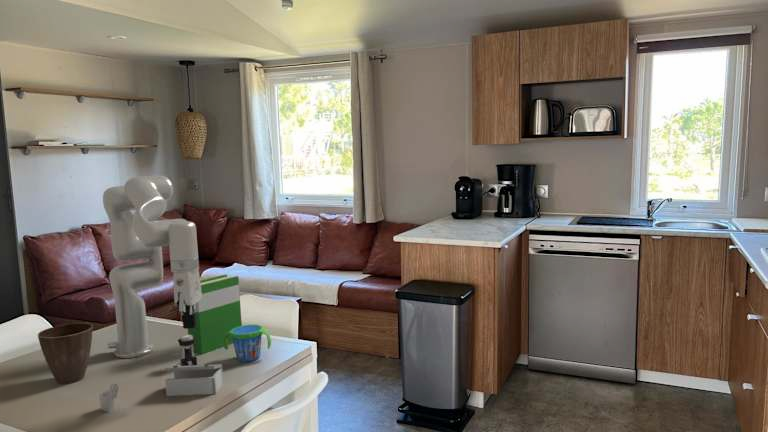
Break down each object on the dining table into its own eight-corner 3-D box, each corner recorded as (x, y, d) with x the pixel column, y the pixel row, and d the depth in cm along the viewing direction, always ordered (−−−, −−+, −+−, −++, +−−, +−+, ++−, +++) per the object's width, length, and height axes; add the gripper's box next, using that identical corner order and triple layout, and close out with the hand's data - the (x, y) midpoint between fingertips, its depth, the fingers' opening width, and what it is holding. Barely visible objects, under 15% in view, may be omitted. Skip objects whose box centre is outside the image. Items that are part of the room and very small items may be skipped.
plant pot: (40, 378, 178) (34, 329, 176) (92, 366, 186) (87, 319, 185) (46, 393, 166) (40, 341, 164) (101, 379, 175) (96, 329, 173)
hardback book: (229, 336, 212) (225, 274, 210) (242, 339, 208) (238, 276, 205) (189, 350, 198) (184, 284, 196) (202, 354, 194) (197, 286, 191)
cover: (164, 371, 160) (165, 366, 160) (175, 368, 168) (175, 364, 168) (213, 369, 160) (214, 364, 160) (222, 367, 168) (222, 362, 168)
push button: (179, 371, 179) (177, 341, 178) (173, 367, 183) (171, 337, 182) (199, 365, 183) (197, 336, 182) (193, 361, 187) (191, 332, 186)
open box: (166, 396, 161) (165, 379, 160) (176, 384, 168) (175, 369, 168) (215, 393, 161) (214, 377, 160) (223, 382, 169) (222, 367, 168)
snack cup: (219, 363, 185) (217, 333, 183) (233, 352, 195) (231, 323, 194) (264, 365, 182) (262, 334, 180) (276, 353, 192) (274, 324, 191)
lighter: (100, 409, 154) (97, 381, 153) (106, 406, 155) (104, 378, 154) (115, 415, 150) (112, 386, 149) (121, 412, 151) (118, 383, 150)
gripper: (189, 269, 152) (194, 335, 154) (206, 259, 167) (210, 319, 169) (161, 270, 152) (166, 336, 154) (181, 260, 167) (185, 320, 169)
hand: (189, 327), depth 162 cm, fingers closed
